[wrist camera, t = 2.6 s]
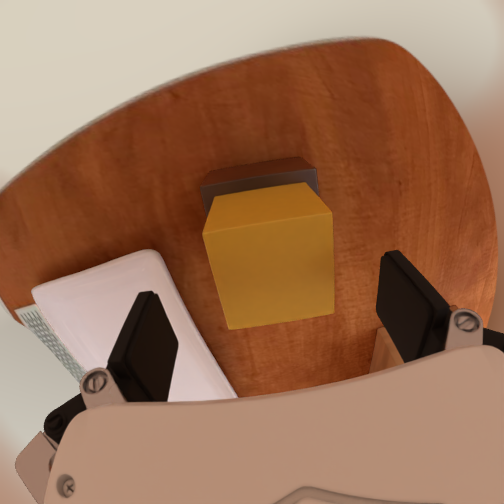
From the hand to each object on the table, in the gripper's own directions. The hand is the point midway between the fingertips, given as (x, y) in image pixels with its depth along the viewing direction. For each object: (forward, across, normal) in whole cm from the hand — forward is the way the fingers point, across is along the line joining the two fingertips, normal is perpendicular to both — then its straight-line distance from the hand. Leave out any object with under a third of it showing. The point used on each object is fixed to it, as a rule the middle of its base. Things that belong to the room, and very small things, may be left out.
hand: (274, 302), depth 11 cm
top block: (+7, 0, 0) cm, 7 cm away
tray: (+12, +14, +17) cm, 26 cm away
